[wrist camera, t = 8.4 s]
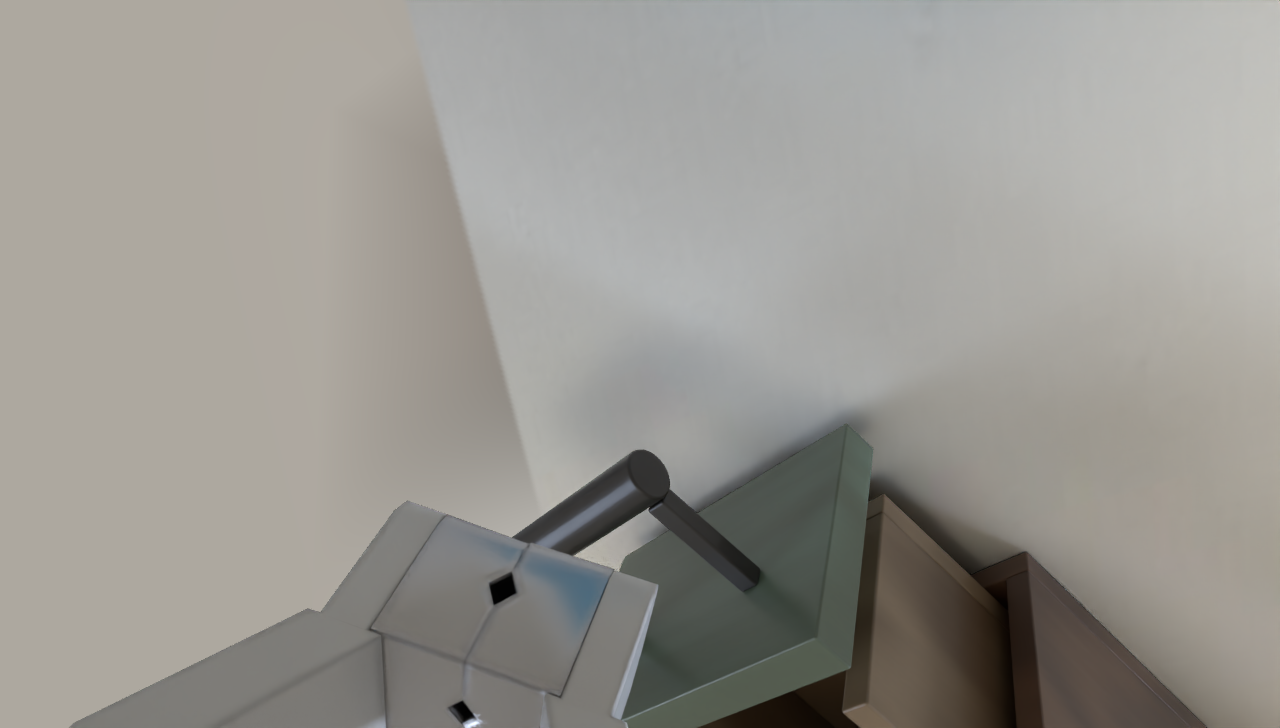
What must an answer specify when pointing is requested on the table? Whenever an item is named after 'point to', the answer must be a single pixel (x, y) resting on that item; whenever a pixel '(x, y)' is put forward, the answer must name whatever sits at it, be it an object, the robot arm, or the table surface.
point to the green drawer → (796, 602)
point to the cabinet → (1072, 659)
